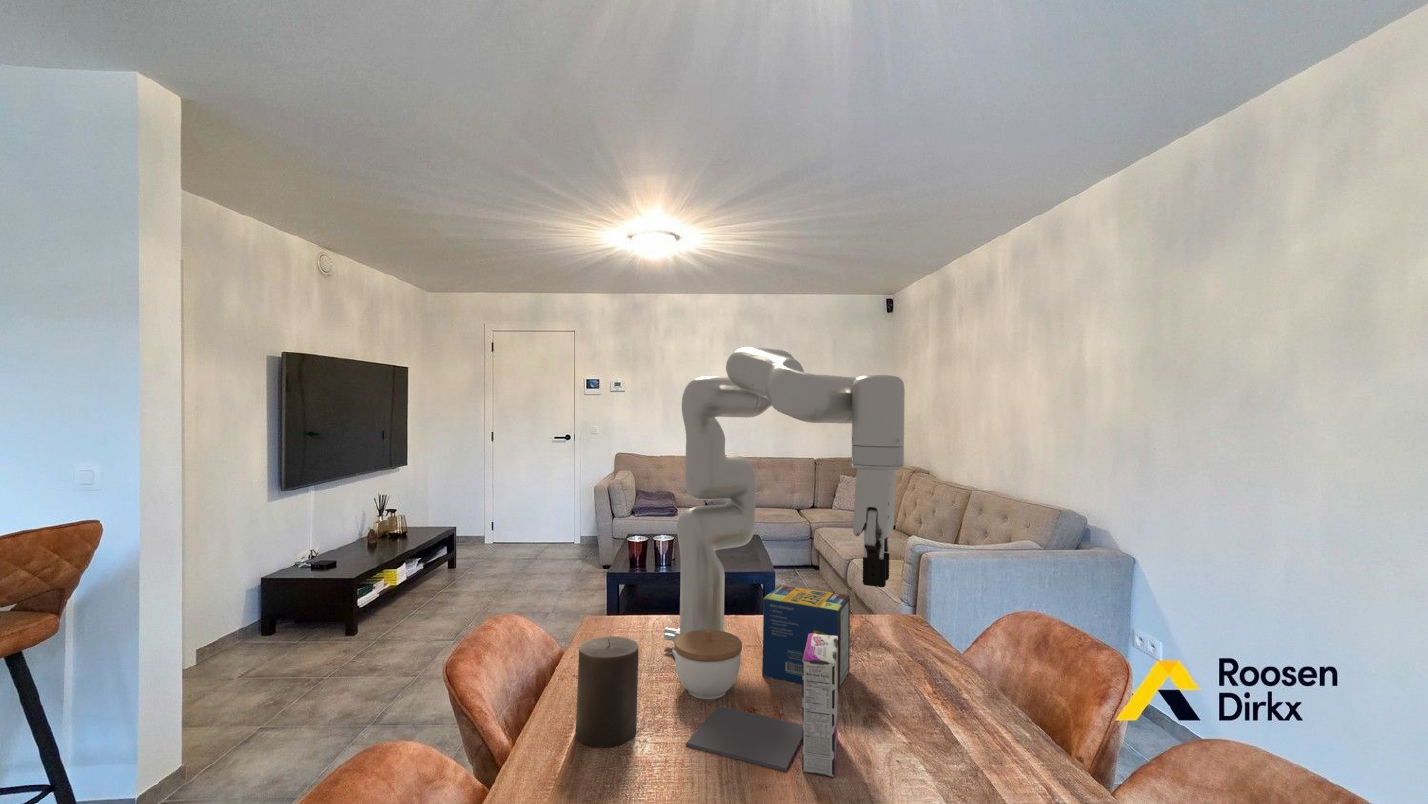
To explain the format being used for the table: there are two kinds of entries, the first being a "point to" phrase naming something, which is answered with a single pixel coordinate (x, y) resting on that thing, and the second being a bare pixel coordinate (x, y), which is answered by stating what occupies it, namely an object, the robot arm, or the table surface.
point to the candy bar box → (820, 704)
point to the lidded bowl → (707, 662)
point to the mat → (749, 737)
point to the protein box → (802, 629)
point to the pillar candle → (607, 691)
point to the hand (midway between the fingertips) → (876, 580)
